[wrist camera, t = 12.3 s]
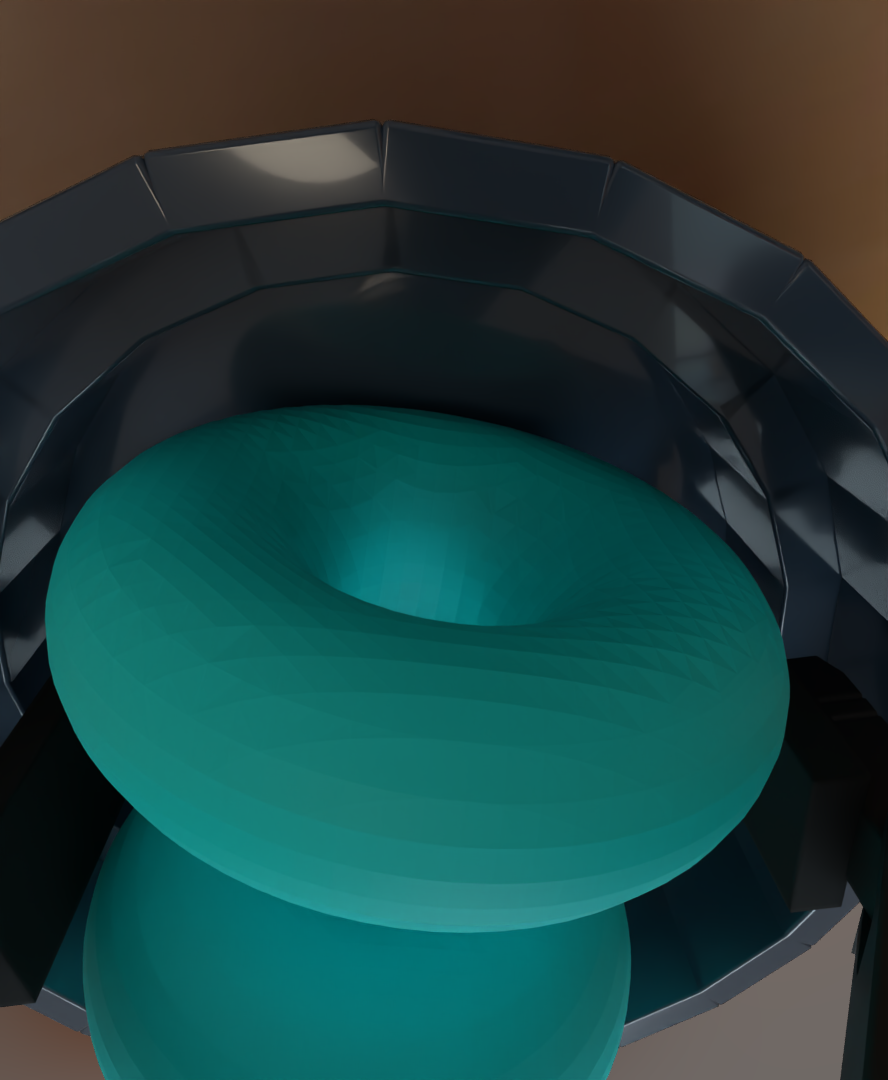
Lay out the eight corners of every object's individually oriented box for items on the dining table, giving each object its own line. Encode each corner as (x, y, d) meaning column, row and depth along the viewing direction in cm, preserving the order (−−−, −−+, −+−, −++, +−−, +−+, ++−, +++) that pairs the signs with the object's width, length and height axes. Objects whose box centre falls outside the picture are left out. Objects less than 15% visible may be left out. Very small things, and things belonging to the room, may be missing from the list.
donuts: (179, 738, 18) (-33, 1279, 9) (179, 351, 14) (-239, 705, 5) (554, 773, 19) (676, 1283, 11) (671, 430, 15) (1058, 826, 6)
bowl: (842, 73, 13) (1204, 2, 7) (751, 801, 21) (876, 1035, 16) (-178, 215, 13) (-641, 260, 7) (147, 874, 22) (55, 1128, 16)
